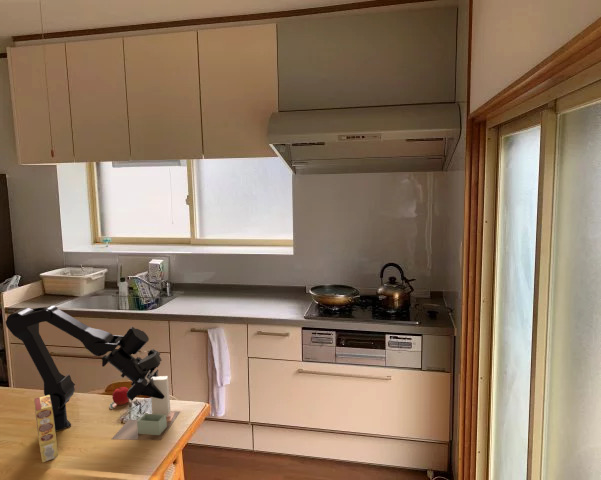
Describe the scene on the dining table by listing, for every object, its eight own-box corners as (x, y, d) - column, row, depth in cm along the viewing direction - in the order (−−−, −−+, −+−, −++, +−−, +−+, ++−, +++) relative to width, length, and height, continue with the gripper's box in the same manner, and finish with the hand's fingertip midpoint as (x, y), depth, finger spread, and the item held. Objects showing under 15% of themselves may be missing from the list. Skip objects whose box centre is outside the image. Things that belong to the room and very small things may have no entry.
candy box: (58, 457, 125) (53, 405, 123) (41, 463, 123) (35, 410, 121) (55, 443, 132) (50, 393, 131) (39, 448, 130) (33, 398, 128)
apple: (104, 410, 151) (103, 392, 150) (117, 399, 159) (115, 382, 158) (127, 411, 150) (125, 393, 149) (138, 400, 158) (137, 382, 157)
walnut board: (111, 442, 132) (111, 438, 132) (136, 413, 148) (136, 410, 148) (161, 443, 131) (160, 439, 131) (180, 414, 147) (180, 411, 147)
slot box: (137, 433, 134) (136, 421, 134) (145, 425, 139) (144, 413, 138) (159, 435, 133) (158, 422, 133) (166, 426, 138) (166, 414, 137)
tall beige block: (152, 416, 142) (149, 380, 140) (154, 412, 144) (152, 376, 143) (168, 415, 142) (166, 379, 141) (170, 411, 145) (168, 375, 143)
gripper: (134, 357, 131) (175, 391, 133) (152, 335, 149) (187, 365, 151) (109, 384, 131) (150, 417, 133) (129, 359, 150) (165, 389, 152)
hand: (164, 395), depth 143 cm, fingers closed on tall beige block, 3 cm apart
